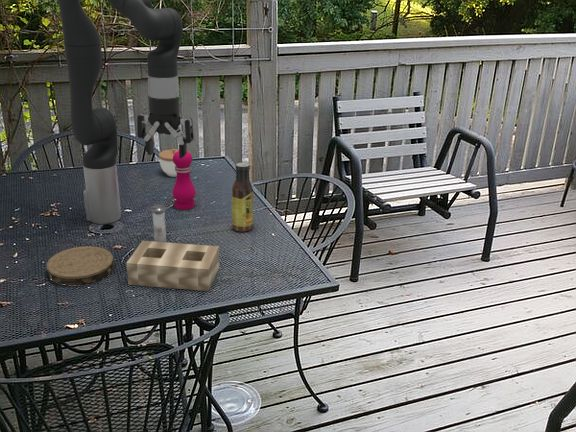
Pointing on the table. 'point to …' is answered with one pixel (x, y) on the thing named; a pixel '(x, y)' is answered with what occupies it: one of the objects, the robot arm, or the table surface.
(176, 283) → the hole block
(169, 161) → the lidded jar
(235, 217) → the sauce bottle
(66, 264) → the cork coaster
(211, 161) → the table surface
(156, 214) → the clevis pin
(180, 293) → the table surface
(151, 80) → the robot arm
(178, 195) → the pepper mill
